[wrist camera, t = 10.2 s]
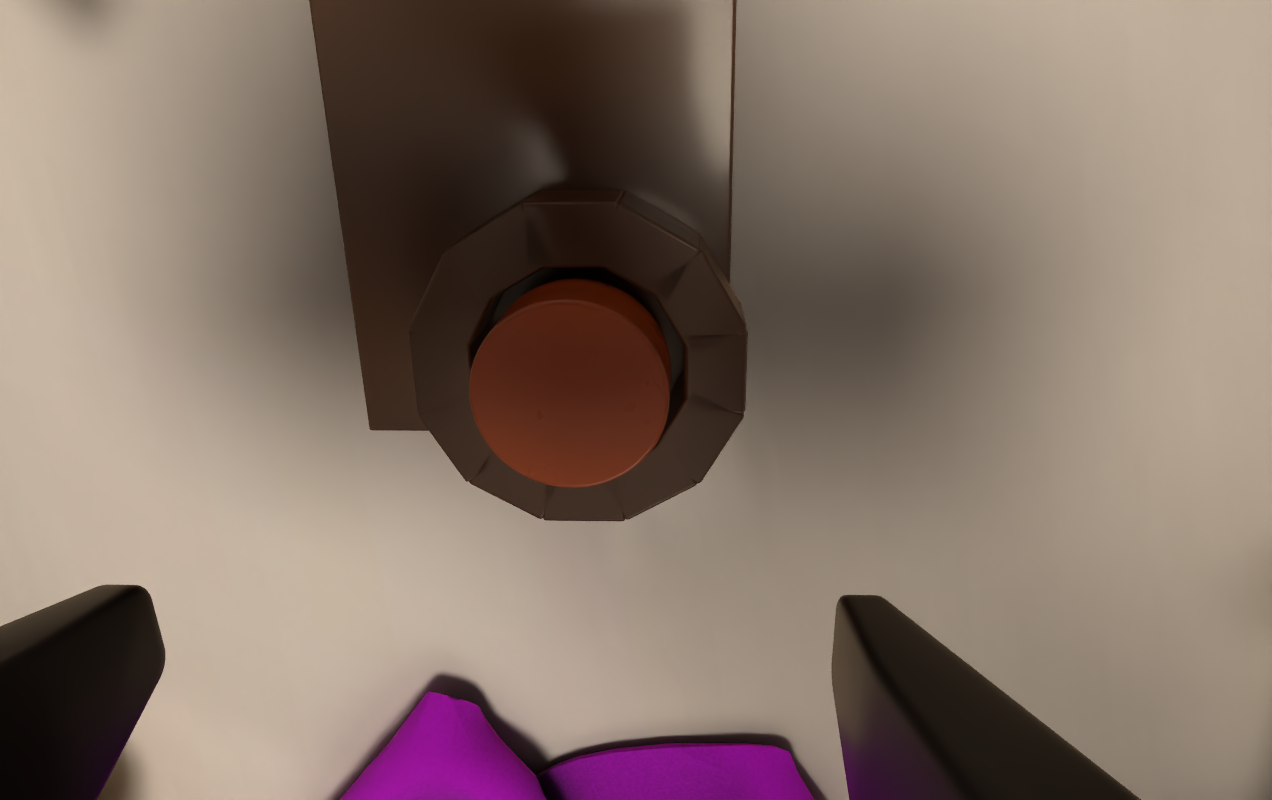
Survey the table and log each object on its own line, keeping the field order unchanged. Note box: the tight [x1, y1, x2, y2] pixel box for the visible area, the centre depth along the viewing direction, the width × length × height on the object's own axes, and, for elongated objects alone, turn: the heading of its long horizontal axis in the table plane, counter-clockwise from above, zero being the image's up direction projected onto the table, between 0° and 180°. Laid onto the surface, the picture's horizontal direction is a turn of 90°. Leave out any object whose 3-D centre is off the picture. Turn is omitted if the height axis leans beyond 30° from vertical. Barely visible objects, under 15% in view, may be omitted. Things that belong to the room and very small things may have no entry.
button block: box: [309, 0, 748, 521], centre depth 17 cm, size 10×8×4 cm
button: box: [469, 278, 671, 488], centre depth 16 cm, size 4×4×2 cm
